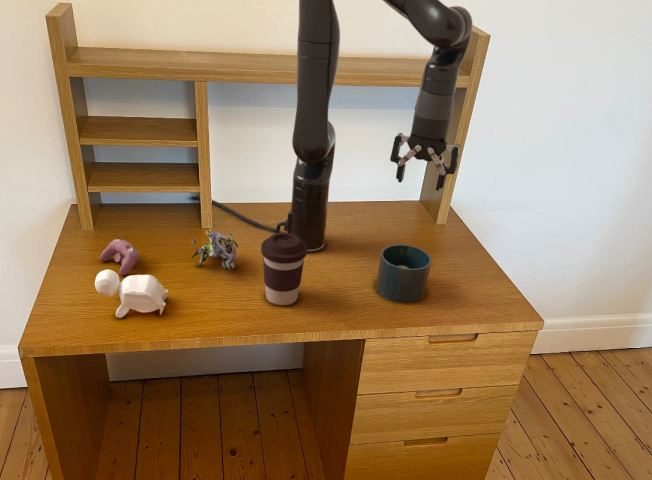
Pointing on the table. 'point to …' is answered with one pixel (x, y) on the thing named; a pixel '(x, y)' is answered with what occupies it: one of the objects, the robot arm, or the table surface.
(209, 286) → the table surface
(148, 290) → the white turtle figurine
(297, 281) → the coffee cup
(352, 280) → the table surface
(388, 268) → the pen pot
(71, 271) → the table surface
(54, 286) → the table surface
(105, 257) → the video game controller
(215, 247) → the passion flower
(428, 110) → the robot arm
